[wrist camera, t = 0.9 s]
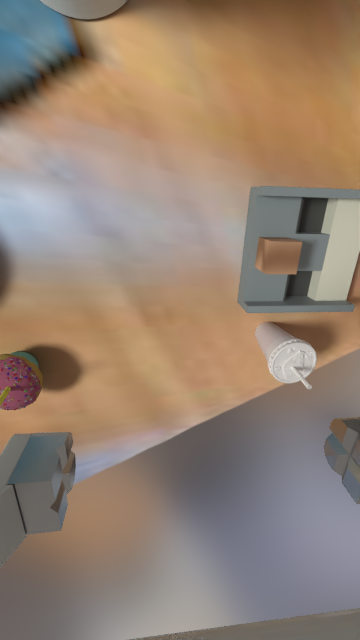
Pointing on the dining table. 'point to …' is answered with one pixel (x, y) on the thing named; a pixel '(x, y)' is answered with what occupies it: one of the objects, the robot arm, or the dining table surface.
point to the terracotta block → (278, 255)
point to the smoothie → (286, 354)
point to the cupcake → (19, 380)
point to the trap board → (302, 249)
